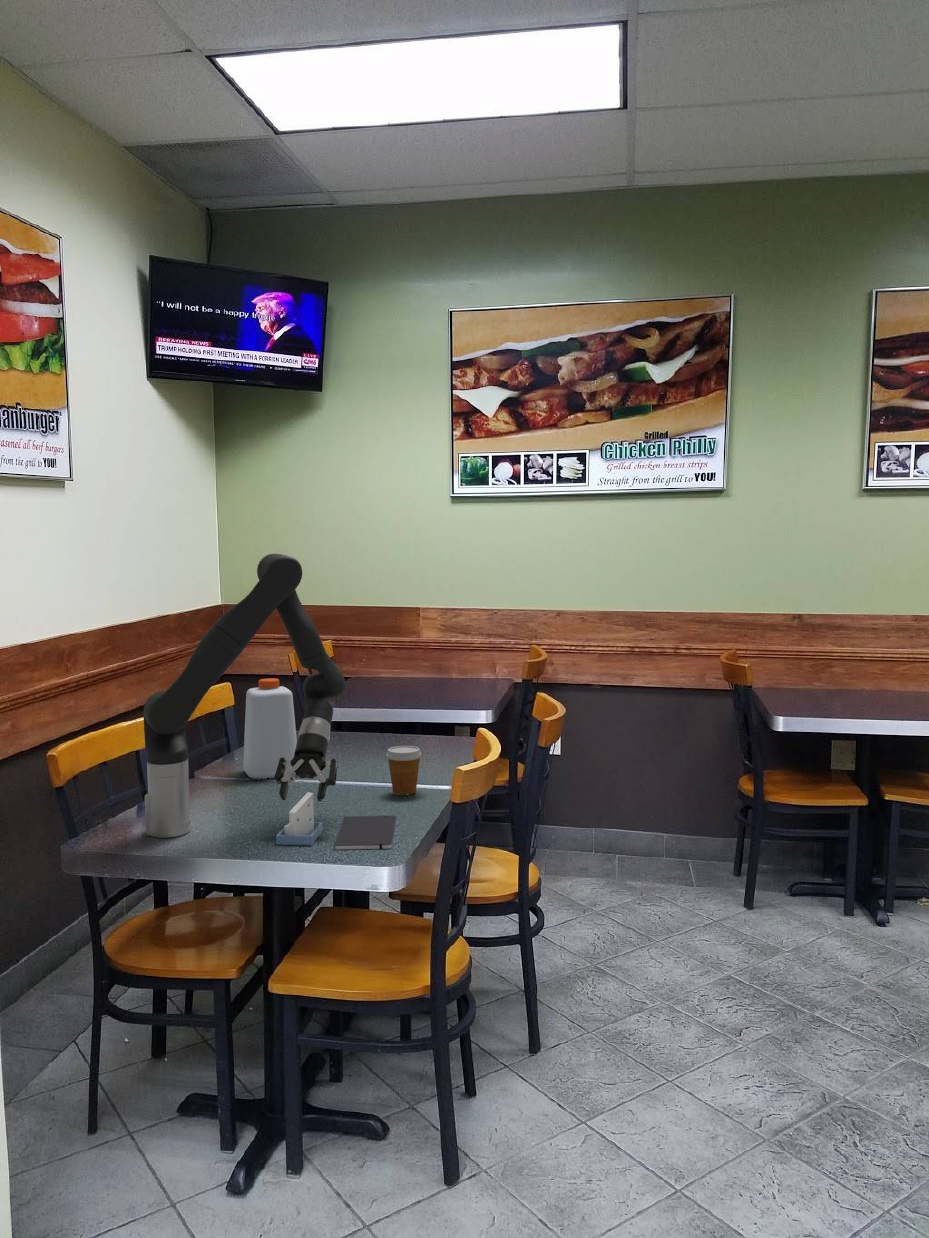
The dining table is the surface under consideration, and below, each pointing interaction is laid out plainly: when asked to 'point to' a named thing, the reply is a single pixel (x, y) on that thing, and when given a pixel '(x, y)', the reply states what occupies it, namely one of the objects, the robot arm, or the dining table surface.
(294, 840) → the blue rectangular frame
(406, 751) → the disposable coffee cup
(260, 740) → the plastic bottle
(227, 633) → the robot arm
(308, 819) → the white angled block
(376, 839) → the notebook
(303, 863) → the dining table surface
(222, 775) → the dining table surface
